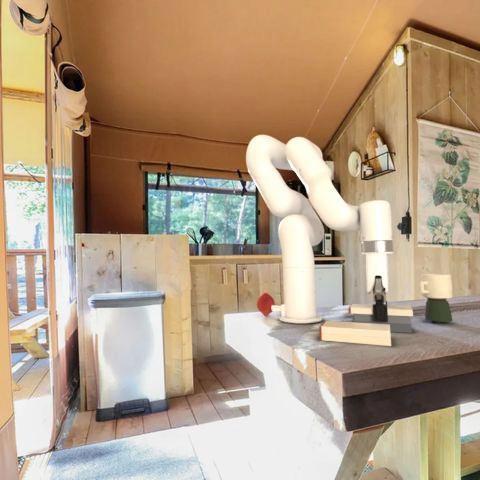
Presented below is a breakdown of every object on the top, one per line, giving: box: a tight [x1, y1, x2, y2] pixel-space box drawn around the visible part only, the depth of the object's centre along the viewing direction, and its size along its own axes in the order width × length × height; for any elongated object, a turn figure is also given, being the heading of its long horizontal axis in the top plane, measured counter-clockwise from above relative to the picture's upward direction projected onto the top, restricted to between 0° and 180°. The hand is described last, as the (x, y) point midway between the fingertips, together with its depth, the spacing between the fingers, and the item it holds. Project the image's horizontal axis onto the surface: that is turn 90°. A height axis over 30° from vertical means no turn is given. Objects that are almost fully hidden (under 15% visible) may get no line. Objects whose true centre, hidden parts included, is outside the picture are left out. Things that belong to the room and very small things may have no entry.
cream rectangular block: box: [318, 320, 392, 347], centre depth 68 cm, size 14×7×3 cm, turn 65°
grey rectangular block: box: [351, 314, 413, 334], centre depth 77 cm, size 13×6×4 cm, turn 65°
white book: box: [348, 303, 414, 317], centre depth 78 cm, size 14×7×2 cm, turn 65°
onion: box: [256, 290, 276, 317], centre depth 99 cm, size 6×6×8 cm
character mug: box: [419, 273, 453, 324], centre depth 83 cm, size 11×7×13 cm, turn 107°
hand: (380, 318), depth 77 cm, fingers closed on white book, 7 cm apart
